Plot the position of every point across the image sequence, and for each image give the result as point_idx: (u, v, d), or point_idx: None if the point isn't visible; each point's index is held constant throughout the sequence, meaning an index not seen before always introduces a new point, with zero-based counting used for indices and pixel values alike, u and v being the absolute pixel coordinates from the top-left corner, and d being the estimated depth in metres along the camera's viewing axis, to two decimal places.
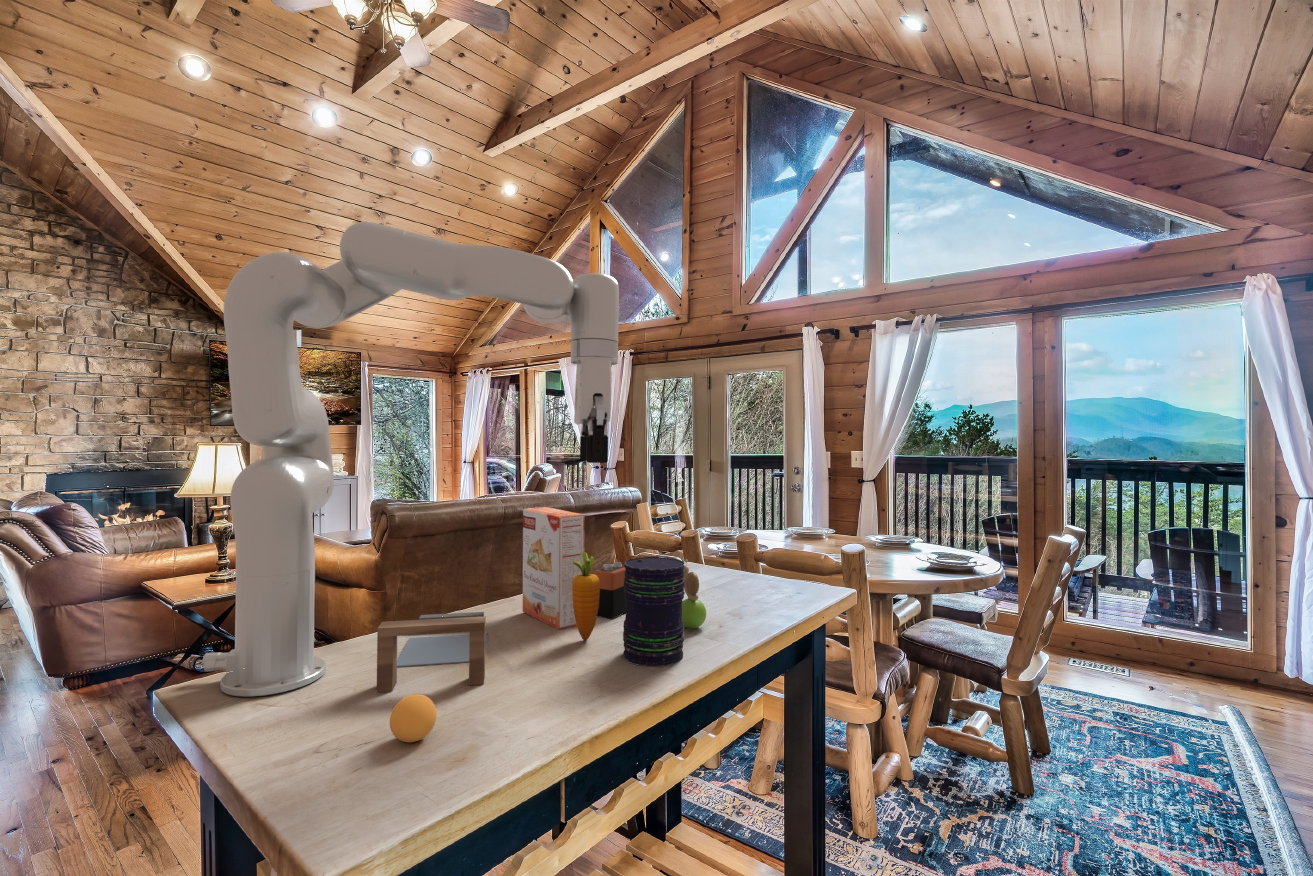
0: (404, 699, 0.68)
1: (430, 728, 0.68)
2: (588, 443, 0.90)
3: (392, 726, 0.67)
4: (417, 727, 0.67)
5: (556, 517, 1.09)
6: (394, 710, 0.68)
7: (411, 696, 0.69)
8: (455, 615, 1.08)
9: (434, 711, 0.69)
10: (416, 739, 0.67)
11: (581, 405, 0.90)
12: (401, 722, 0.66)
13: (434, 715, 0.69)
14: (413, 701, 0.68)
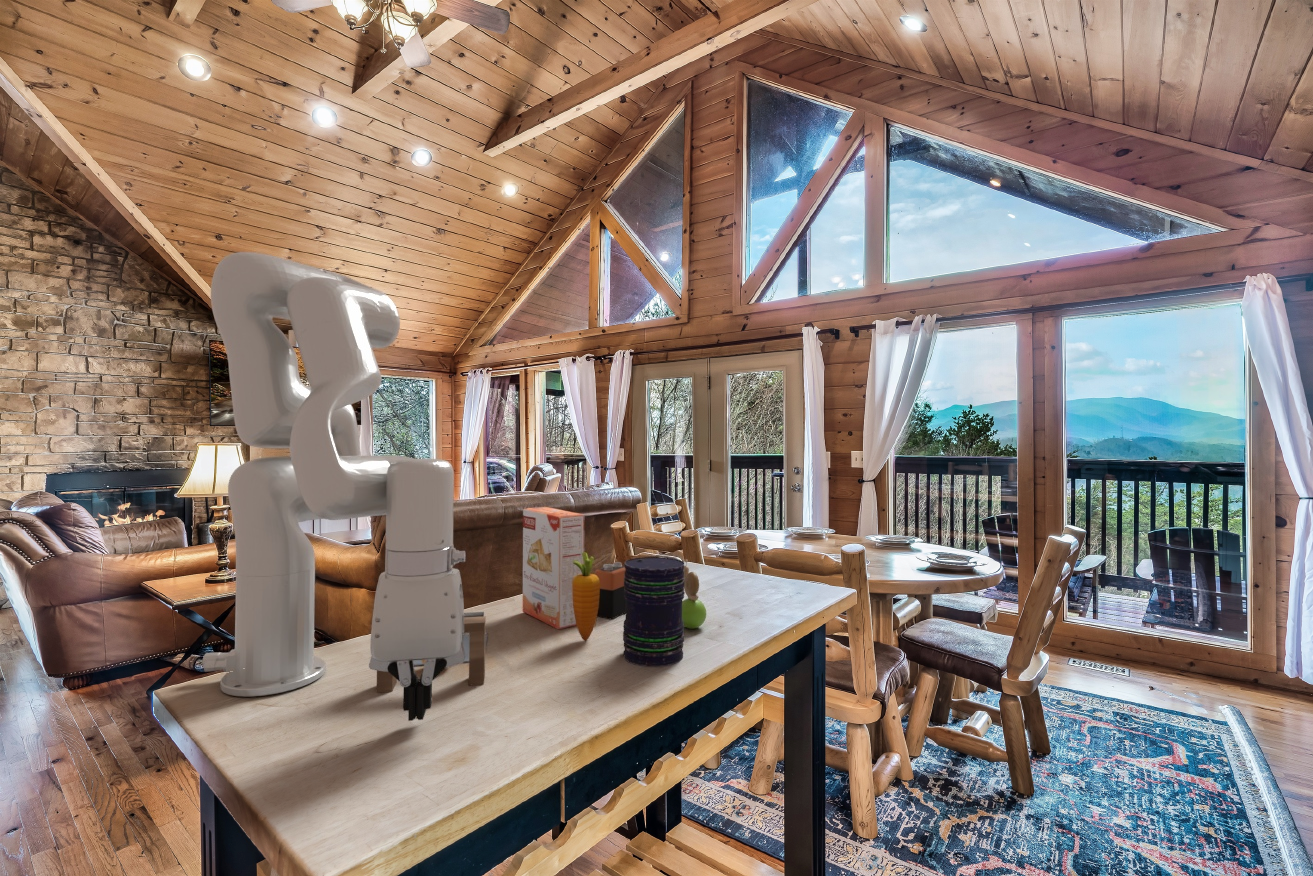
0: None
1: None
2: None
3: None
4: None
5: (556, 517, 1.09)
6: None
7: None
8: None
9: None
10: None
11: None
12: None
13: None
14: None
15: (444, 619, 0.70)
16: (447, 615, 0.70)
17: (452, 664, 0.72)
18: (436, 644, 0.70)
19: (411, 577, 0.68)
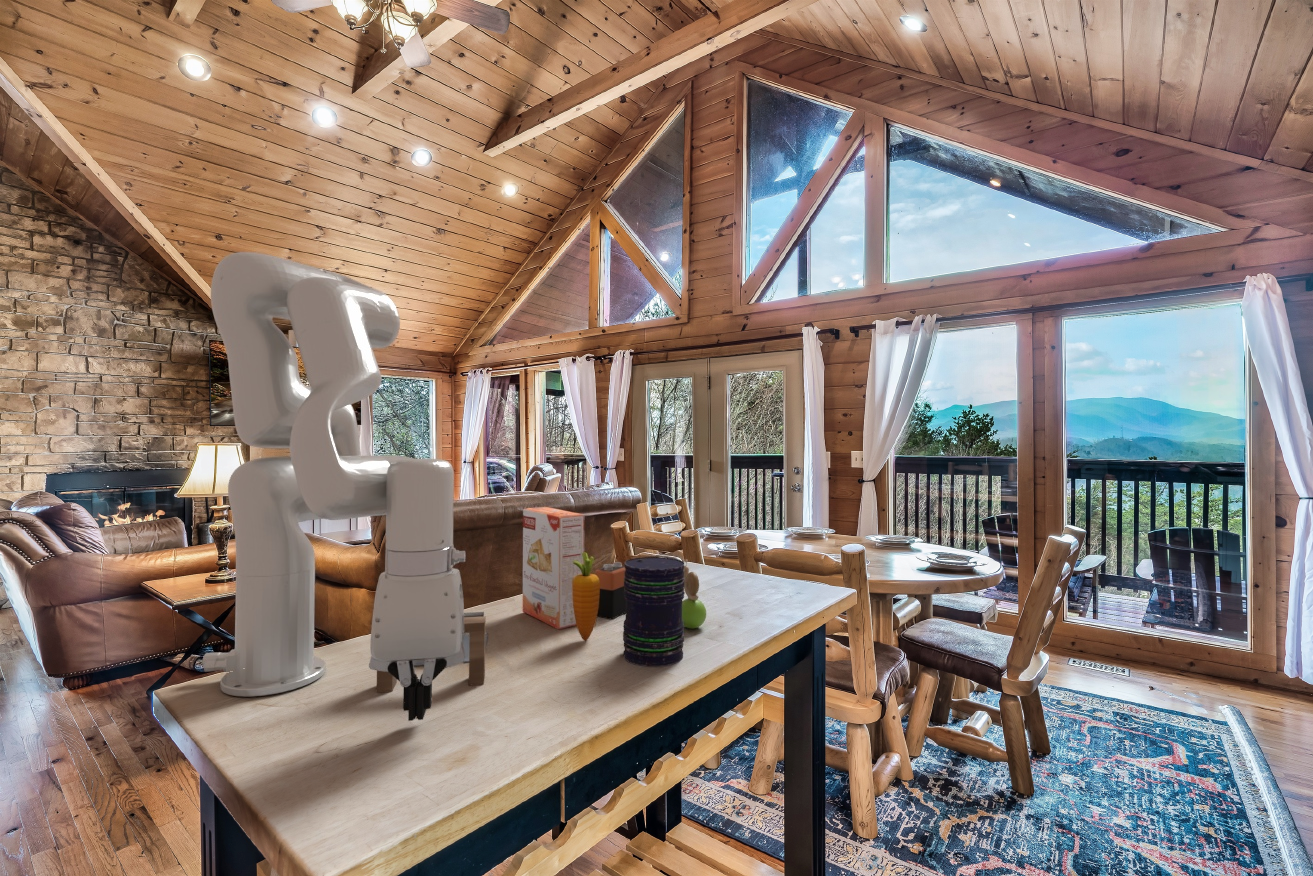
0: None
1: None
2: None
3: None
4: None
5: (556, 517, 1.09)
6: None
7: None
8: None
9: None
10: None
11: None
12: None
13: None
14: None
15: (444, 619, 0.70)
16: (447, 615, 0.70)
17: (452, 664, 0.72)
18: (436, 644, 0.70)
19: (411, 577, 0.68)
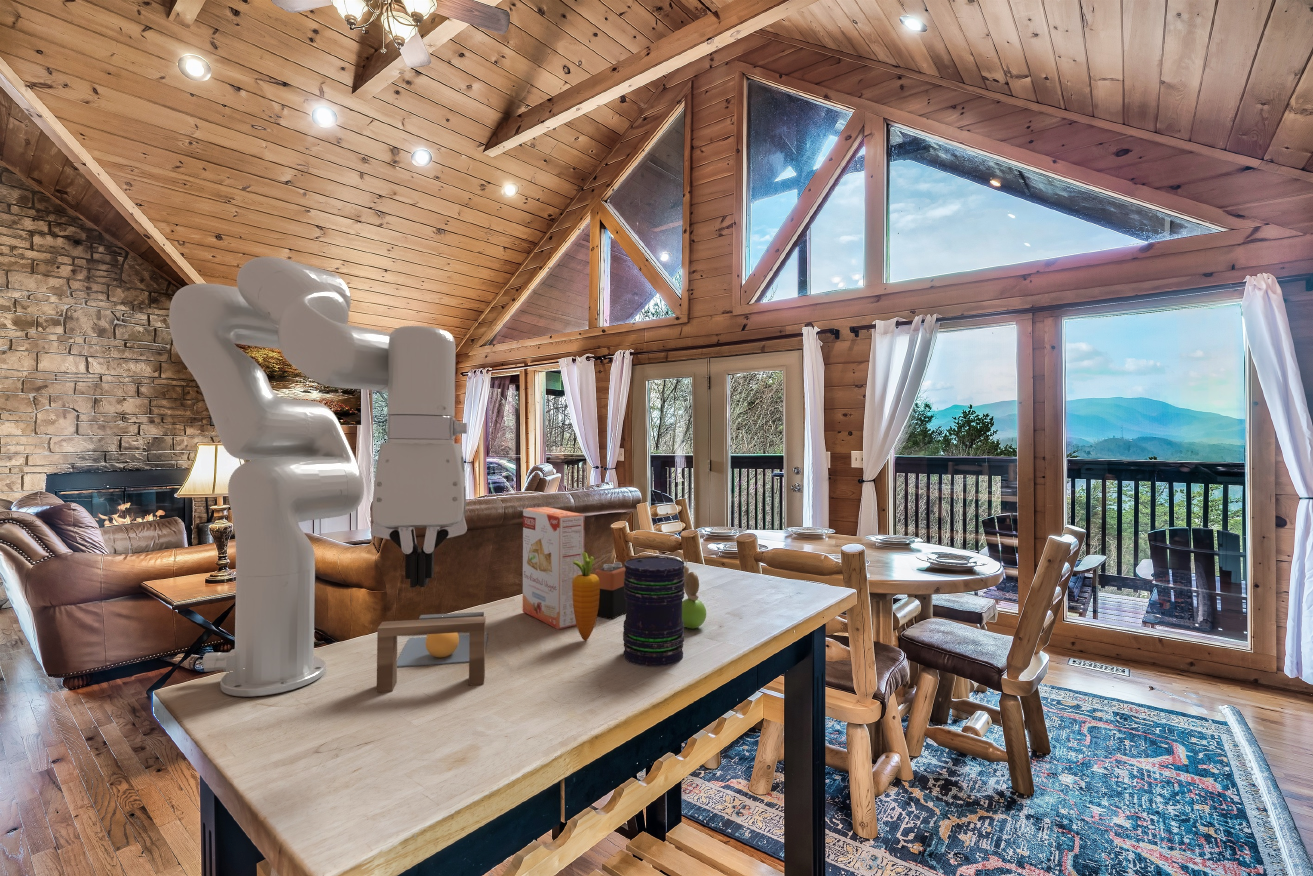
0: (434, 654, 0.93)
1: None
2: None
3: None
4: None
5: (556, 517, 1.09)
6: None
7: (439, 654, 0.93)
8: (455, 615, 1.08)
9: (457, 645, 0.95)
10: None
11: None
12: None
13: None
14: (443, 657, 0.94)
15: (446, 486, 0.70)
16: (449, 482, 0.70)
17: (454, 534, 0.72)
18: (438, 511, 0.70)
19: (413, 440, 0.68)
